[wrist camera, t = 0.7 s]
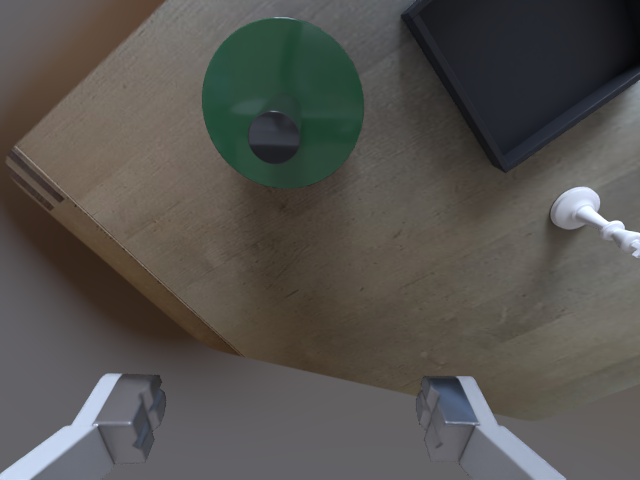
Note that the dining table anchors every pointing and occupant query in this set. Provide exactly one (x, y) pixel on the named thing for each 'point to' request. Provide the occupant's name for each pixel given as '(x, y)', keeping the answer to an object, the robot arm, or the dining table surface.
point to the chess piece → (591, 218)
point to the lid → (282, 102)
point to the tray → (527, 64)
